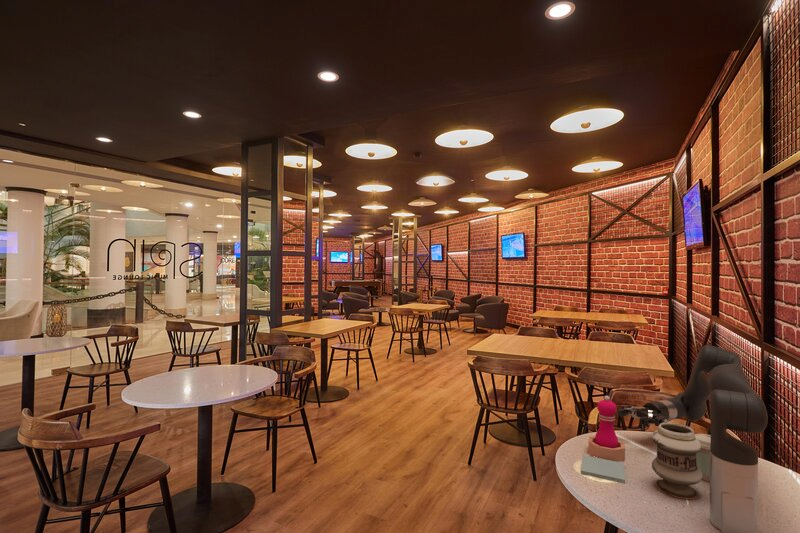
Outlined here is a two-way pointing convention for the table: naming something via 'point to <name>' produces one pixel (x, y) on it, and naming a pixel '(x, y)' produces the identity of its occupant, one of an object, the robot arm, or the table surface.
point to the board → (603, 468)
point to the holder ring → (606, 451)
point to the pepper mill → (606, 424)
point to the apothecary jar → (676, 460)
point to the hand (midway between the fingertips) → (629, 417)
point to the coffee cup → (704, 455)
